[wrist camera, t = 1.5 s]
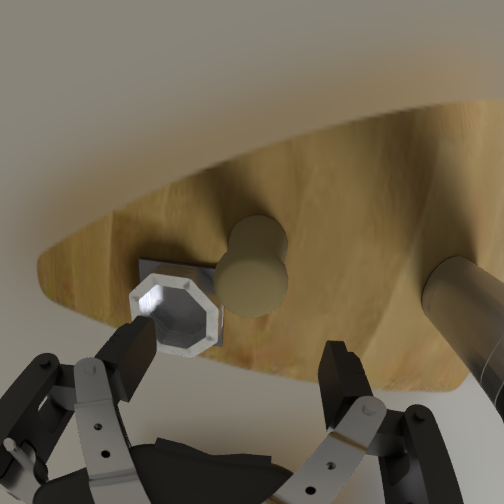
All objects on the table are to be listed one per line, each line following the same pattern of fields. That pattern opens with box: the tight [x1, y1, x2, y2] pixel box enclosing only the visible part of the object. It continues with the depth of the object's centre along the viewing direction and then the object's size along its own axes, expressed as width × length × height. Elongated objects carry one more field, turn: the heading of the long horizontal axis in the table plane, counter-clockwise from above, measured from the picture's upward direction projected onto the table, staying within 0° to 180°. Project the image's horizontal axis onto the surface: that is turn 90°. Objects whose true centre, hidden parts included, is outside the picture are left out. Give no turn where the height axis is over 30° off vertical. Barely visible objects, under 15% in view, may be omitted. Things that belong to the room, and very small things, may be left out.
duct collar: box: [129, 257, 224, 358], centre depth 29 cm, size 10×10×4 cm
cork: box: [213, 215, 288, 318], centre depth 23 cm, size 6×6×11 cm
